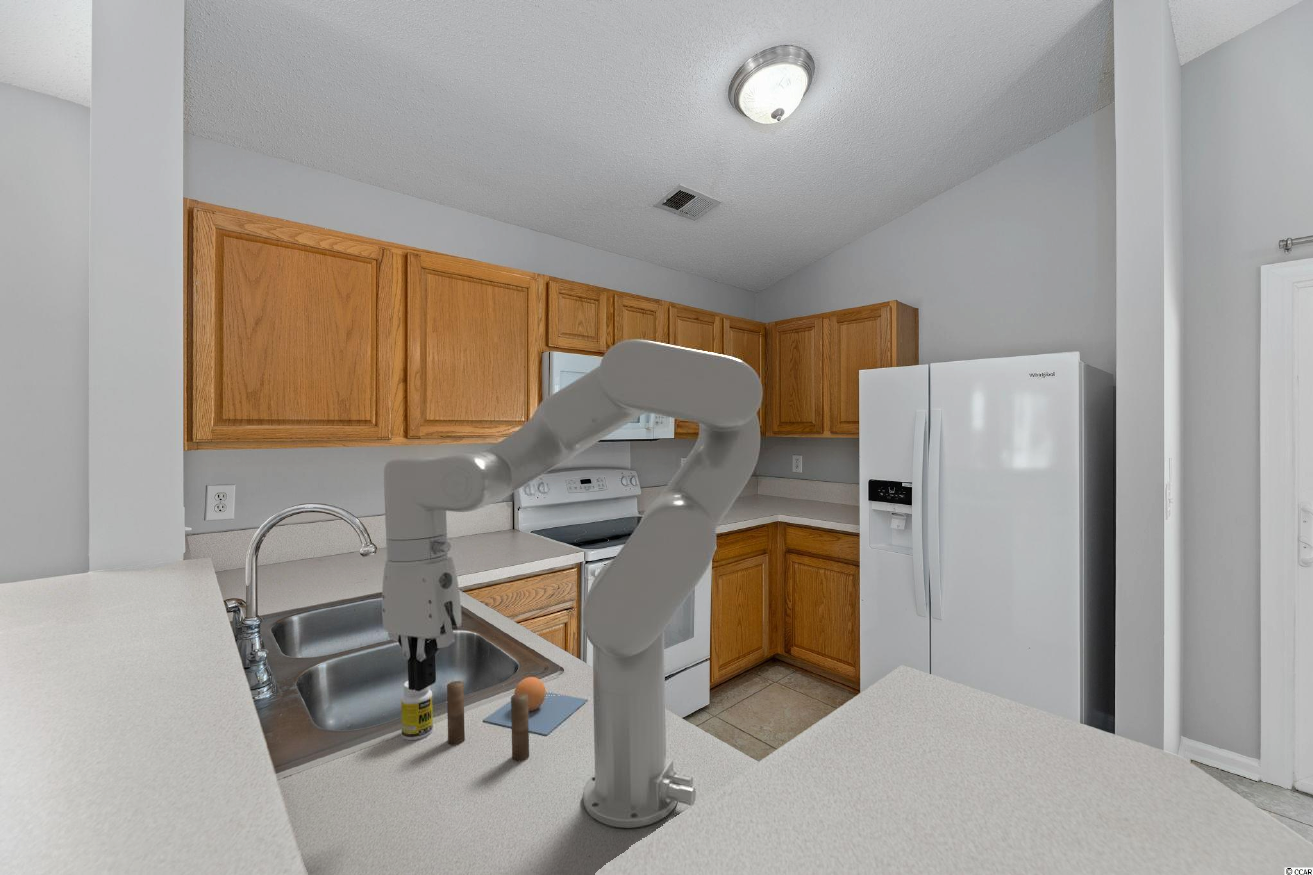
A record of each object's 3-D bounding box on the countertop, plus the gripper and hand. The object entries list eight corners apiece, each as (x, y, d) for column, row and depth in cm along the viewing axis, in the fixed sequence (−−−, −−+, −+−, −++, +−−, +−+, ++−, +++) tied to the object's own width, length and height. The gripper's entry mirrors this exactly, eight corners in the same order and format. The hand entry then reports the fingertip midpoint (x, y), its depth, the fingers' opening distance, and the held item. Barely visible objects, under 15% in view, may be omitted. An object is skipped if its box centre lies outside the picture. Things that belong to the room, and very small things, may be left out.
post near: (532, 753, 85) (531, 694, 85) (522, 762, 83) (521, 701, 83) (519, 750, 86) (517, 692, 86) (508, 759, 84) (507, 699, 84)
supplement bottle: (421, 742, 89) (420, 689, 89) (395, 739, 90) (394, 687, 90) (438, 727, 94) (438, 676, 94) (413, 724, 95) (412, 675, 95)
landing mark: (587, 700, 102) (587, 699, 102) (546, 735, 90) (546, 734, 90) (528, 689, 107) (528, 688, 107) (482, 721, 96) (482, 720, 96)
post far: (468, 738, 90) (466, 682, 90) (456, 746, 88) (455, 688, 88) (456, 735, 91) (454, 679, 91) (444, 743, 89) (443, 686, 89)
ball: (545, 674, 99) (532, 704, 95) (554, 689, 102) (541, 719, 98) (518, 668, 101) (504, 698, 97) (528, 683, 104) (514, 713, 100)
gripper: (480, 546, 75) (485, 682, 75) (399, 542, 81) (404, 668, 81) (438, 557, 69) (444, 707, 69) (353, 552, 75) (358, 690, 74)
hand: (422, 685), depth 75 cm, fingers closed
